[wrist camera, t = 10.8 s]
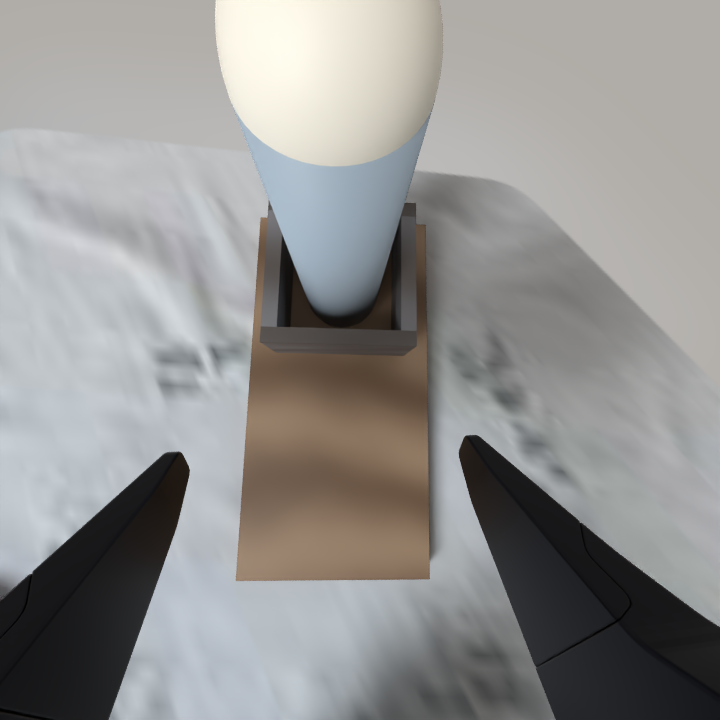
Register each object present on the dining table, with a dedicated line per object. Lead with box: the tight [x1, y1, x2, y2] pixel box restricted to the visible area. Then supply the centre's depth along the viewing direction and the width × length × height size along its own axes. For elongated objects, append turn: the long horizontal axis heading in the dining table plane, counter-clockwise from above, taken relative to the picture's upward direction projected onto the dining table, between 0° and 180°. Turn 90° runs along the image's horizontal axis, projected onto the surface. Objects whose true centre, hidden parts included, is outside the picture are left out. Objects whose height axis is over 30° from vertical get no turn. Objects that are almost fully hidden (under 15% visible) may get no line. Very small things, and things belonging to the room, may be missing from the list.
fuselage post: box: [215, 0, 443, 327], centre depth 11 cm, size 4×4×15 cm
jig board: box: [236, 201, 430, 581], centre depth 17 cm, size 22×11×5 cm, turn 179°
